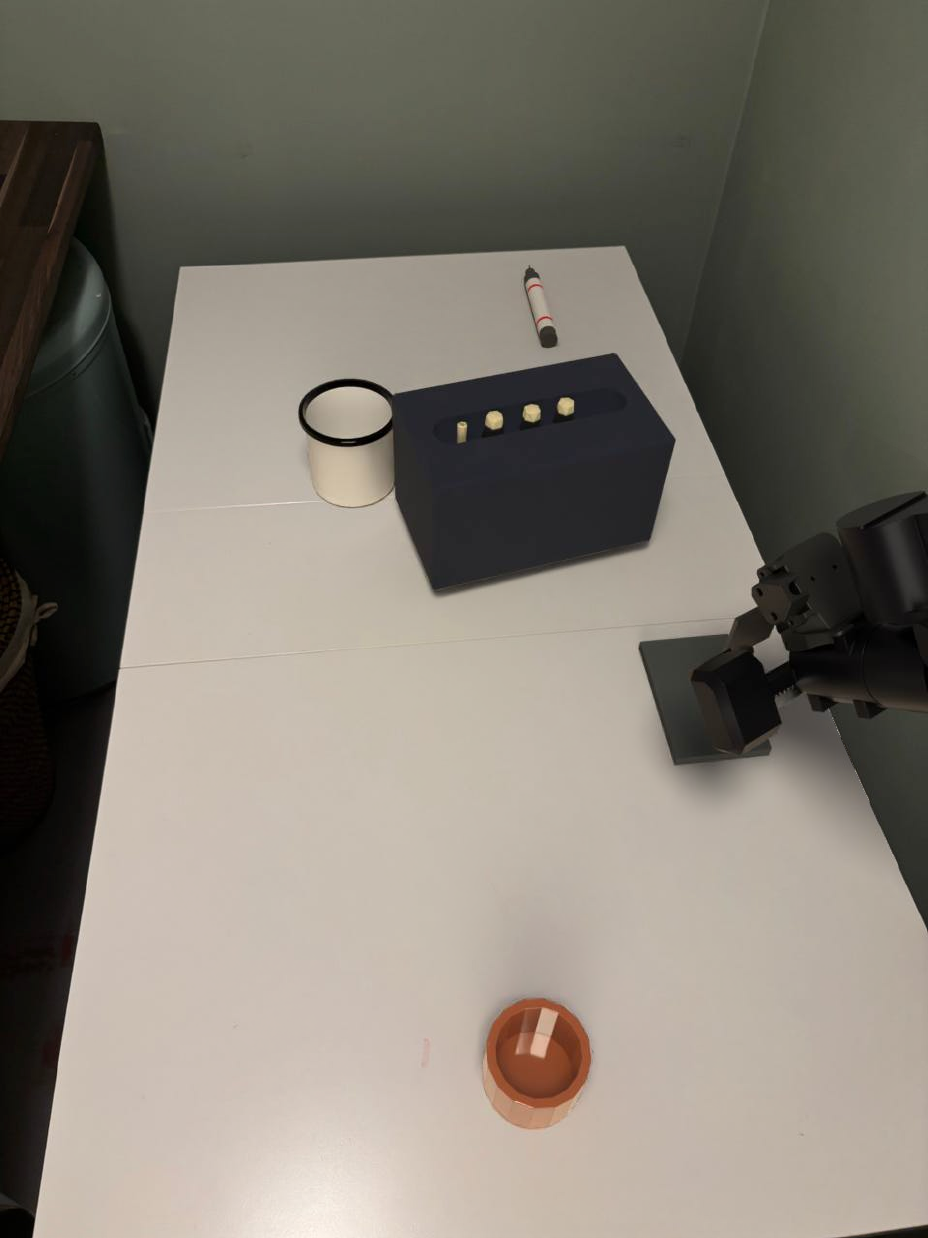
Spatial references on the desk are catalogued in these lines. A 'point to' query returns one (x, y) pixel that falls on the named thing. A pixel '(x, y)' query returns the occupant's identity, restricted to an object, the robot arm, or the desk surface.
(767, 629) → the spatula
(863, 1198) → the desk surface
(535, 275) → the marker
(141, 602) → the desk surface
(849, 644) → the robot arm
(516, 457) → the speaker
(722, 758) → the mat
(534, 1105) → the crock
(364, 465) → the mug
